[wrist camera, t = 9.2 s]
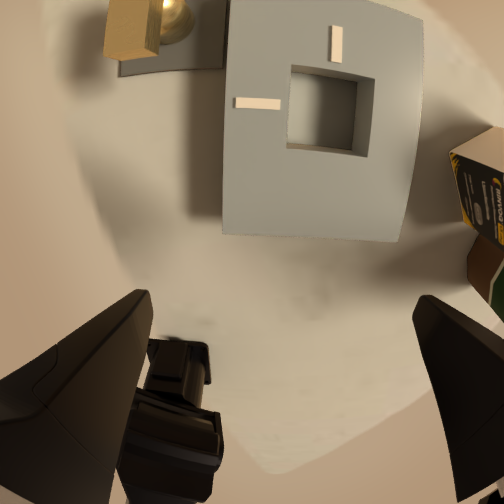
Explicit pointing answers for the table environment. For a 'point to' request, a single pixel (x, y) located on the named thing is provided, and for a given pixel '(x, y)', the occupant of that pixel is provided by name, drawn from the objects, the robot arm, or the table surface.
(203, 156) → the table surface
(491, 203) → the medicine bottle
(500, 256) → the beer bottle
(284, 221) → the grey socket block
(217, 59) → the pad
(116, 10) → the t key
